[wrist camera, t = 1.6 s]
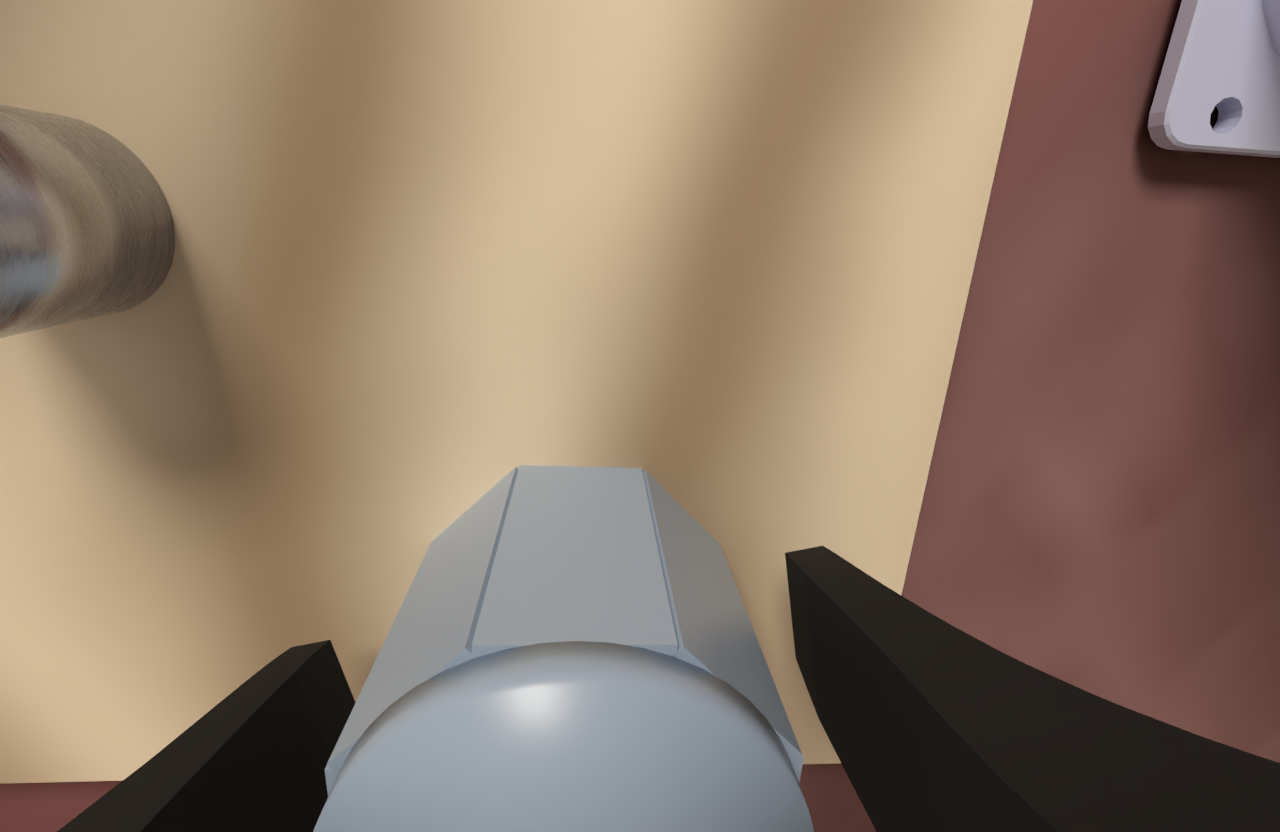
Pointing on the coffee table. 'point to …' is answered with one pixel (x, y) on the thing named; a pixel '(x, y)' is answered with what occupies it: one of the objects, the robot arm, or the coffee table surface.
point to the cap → (569, 677)
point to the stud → (75, 223)
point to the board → (473, 315)
